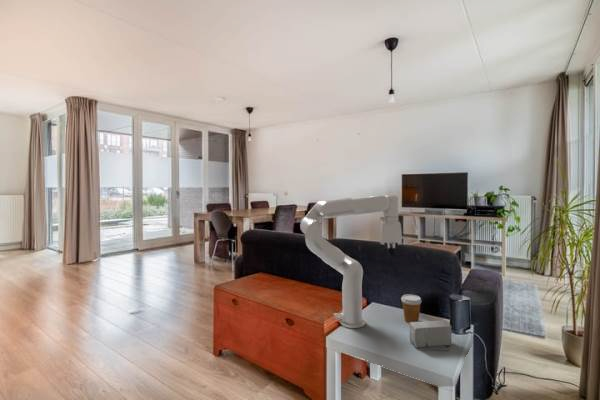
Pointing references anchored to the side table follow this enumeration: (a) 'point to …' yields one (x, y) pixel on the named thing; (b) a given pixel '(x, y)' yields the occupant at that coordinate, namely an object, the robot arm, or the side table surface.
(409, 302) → the disposable coffee cup
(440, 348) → the mat
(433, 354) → the side table surface
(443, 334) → the skincare box
